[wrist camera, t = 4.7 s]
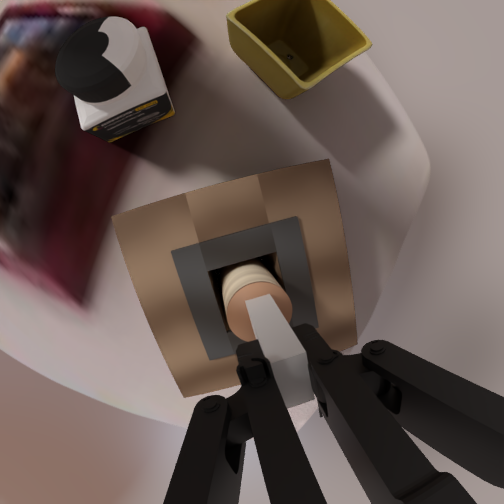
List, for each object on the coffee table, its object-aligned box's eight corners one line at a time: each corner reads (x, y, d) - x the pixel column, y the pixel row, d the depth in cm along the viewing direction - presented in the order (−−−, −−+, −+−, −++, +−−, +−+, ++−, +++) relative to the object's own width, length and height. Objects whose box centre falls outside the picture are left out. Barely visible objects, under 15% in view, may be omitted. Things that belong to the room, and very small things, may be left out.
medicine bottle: (109, 144, 24) (50, 118, 12) (93, 86, 22) (40, 38, 10) (176, 115, 24) (157, 65, 13) (156, 58, 23) (134, -9, 11)
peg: (214, 260, 24) (218, 294, 16) (259, 247, 24) (285, 274, 17) (226, 302, 25) (237, 350, 17) (270, 290, 25) (297, 331, 18)
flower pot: (275, 119, 26) (305, 91, 17) (217, 60, 24) (223, 13, 15) (332, 76, 26) (375, 44, 17) (278, 22, 23) (303, -23, 15)
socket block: (136, 208, 26) (109, 217, 18) (295, 166, 27) (331, 158, 19) (186, 351, 30) (183, 400, 21) (324, 310, 31) (359, 346, 23)
